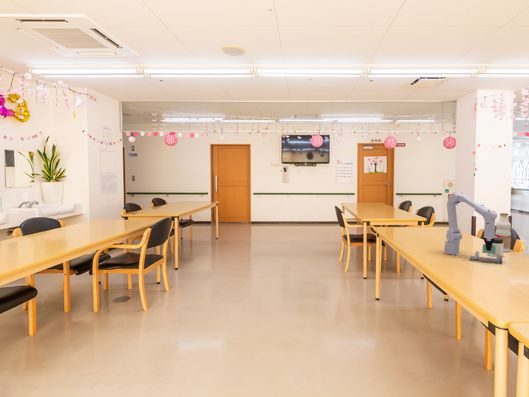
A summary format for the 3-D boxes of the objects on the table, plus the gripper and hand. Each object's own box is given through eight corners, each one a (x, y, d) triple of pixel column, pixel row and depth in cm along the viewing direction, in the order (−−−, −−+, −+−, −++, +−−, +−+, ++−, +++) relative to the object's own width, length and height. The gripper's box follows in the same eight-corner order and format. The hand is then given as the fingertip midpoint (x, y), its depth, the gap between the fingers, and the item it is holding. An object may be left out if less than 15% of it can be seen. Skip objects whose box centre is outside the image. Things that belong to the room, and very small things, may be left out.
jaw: (474, 258, 228) (475, 253, 228) (475, 256, 235) (475, 251, 235) (478, 259, 227) (478, 253, 227) (479, 256, 234) (479, 251, 233)
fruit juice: (507, 252, 249) (509, 214, 247) (492, 250, 256) (494, 213, 254) (511, 250, 255) (513, 213, 253) (497, 248, 262) (498, 212, 260)
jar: (498, 257, 235) (499, 240, 234) (486, 255, 242) (486, 238, 241) (504, 256, 240) (505, 239, 239) (491, 253, 247) (492, 237, 246)
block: (482, 252, 227) (482, 245, 227) (482, 251, 231) (482, 244, 230) (495, 254, 223) (495, 246, 223) (495, 252, 227) (495, 245, 226)
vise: (469, 260, 229) (469, 253, 229) (470, 257, 237) (470, 250, 237) (502, 264, 219) (502, 257, 219) (502, 260, 227) (502, 254, 227)
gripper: (496, 231, 218) (495, 252, 219) (497, 228, 229) (496, 248, 230) (483, 230, 222) (482, 251, 223) (484, 227, 233) (483, 247, 234)
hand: (488, 249), depth 227 cm, fingers closed on block, 4 cm apart
